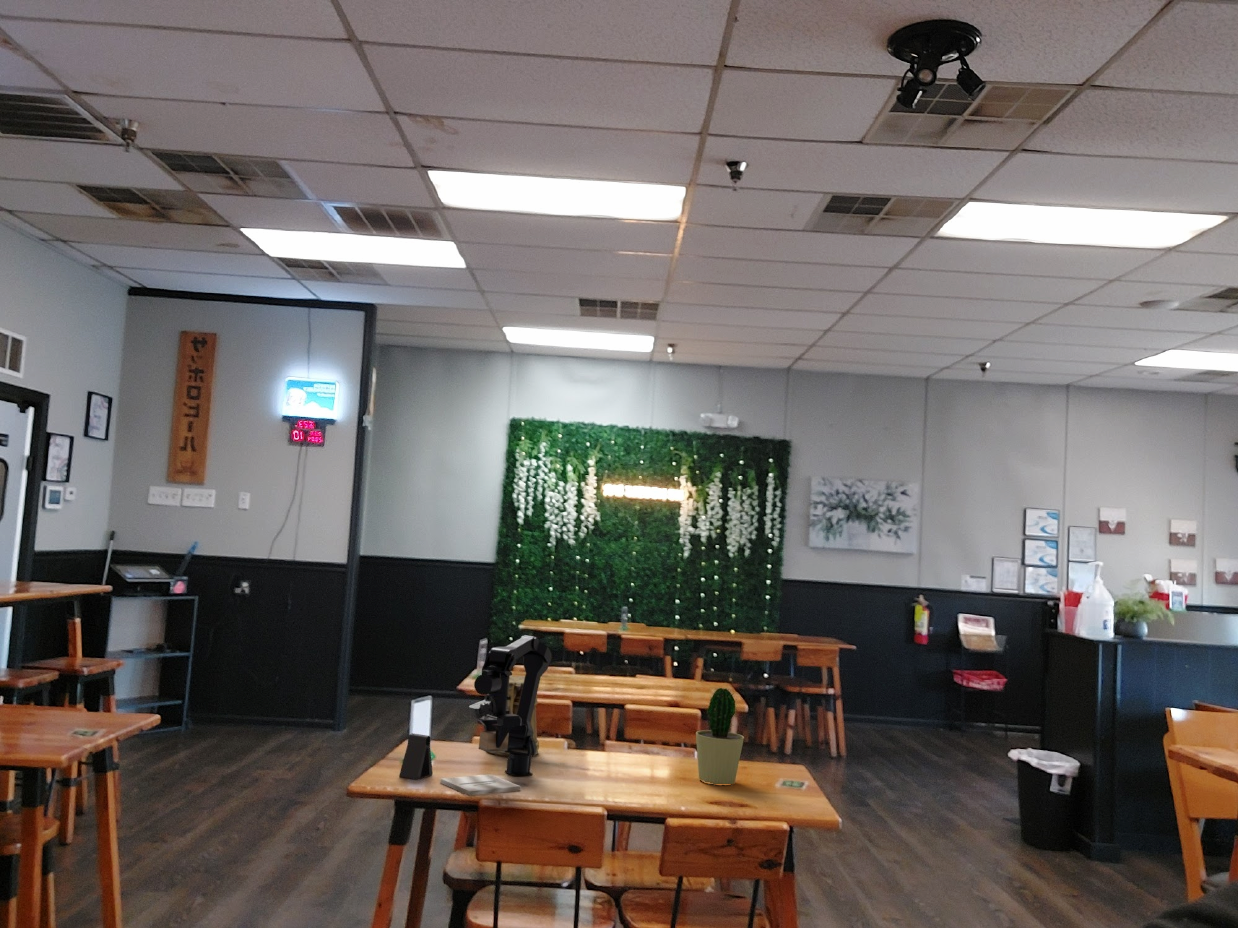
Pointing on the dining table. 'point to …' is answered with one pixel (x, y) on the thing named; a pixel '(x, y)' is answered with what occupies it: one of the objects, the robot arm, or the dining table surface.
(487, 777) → the board
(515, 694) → the tankard
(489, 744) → the block
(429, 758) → the phone stand
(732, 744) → the potted cactus
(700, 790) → the dining table surface
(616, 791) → the dining table surface
